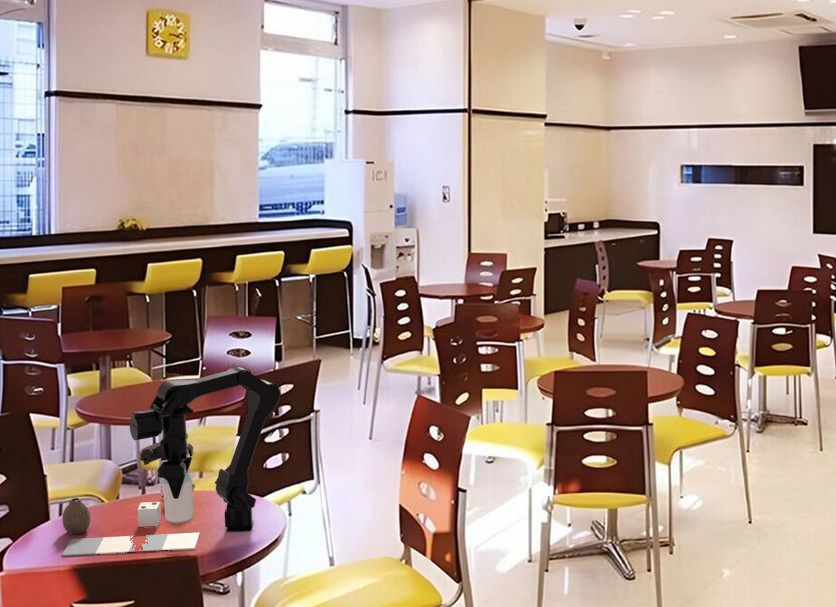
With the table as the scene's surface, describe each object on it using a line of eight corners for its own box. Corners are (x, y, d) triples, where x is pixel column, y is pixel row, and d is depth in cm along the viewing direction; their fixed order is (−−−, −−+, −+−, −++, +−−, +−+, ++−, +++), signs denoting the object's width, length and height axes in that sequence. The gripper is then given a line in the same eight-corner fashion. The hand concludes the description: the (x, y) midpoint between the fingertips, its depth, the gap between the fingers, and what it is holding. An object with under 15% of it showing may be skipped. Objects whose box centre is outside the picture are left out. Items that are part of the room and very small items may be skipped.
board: (199, 533, 264) (199, 532, 264) (194, 549, 255) (194, 547, 254) (71, 540, 262) (71, 539, 262) (61, 556, 252) (61, 554, 252)
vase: (83, 524, 272) (81, 492, 271) (96, 531, 268) (93, 499, 266) (58, 532, 268) (56, 499, 266) (71, 539, 263) (68, 506, 261)
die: (161, 519, 275) (160, 501, 274) (158, 526, 270) (157, 507, 269) (142, 520, 274) (140, 502, 273) (138, 527, 269) (137, 508, 269)
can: (168, 526, 254) (165, 479, 252) (162, 516, 260) (159, 471, 258) (197, 521, 256) (194, 474, 254) (190, 511, 263) (187, 466, 261)
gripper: (147, 423, 263) (151, 482, 266) (134, 445, 245) (138, 508, 247) (192, 421, 264) (195, 480, 266) (181, 443, 246) (185, 506, 248)
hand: (178, 493), depth 257 cm, fingers closed on can, 7 cm apart
